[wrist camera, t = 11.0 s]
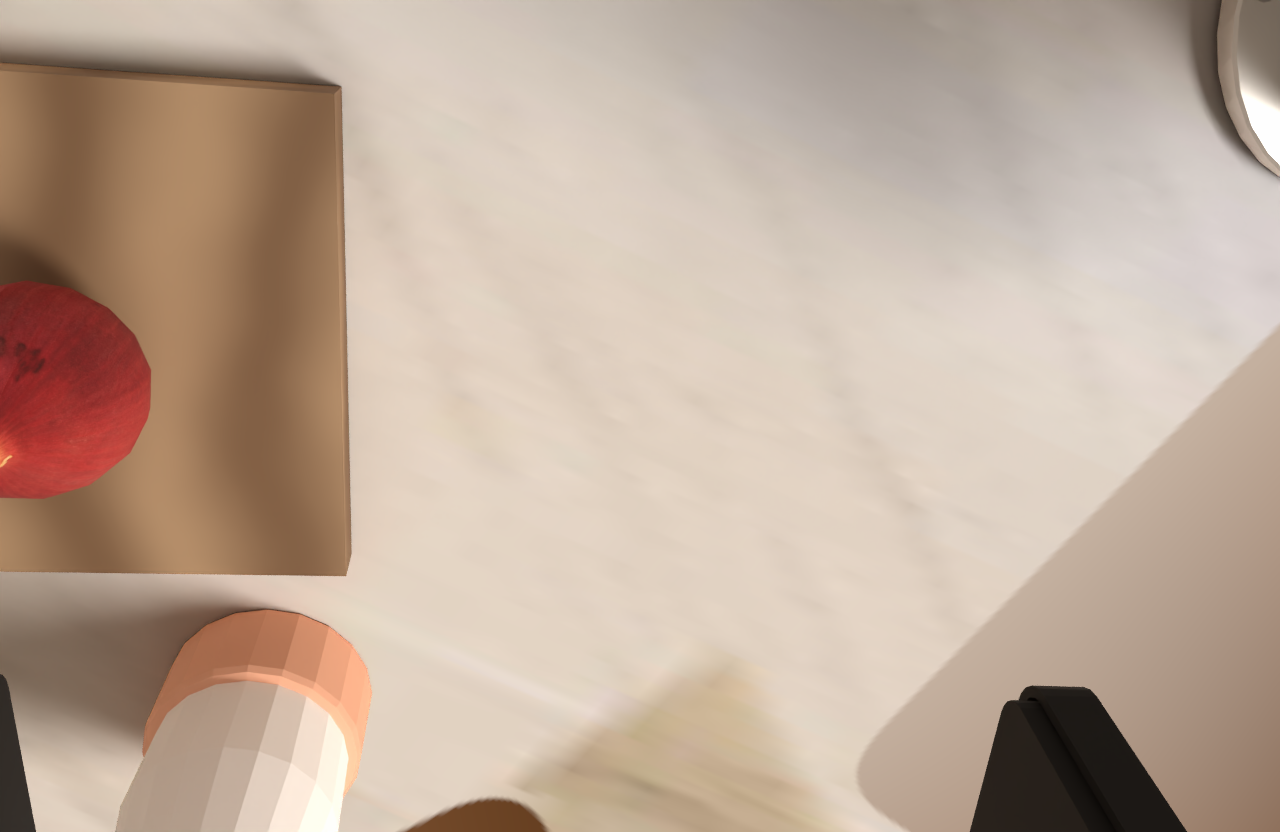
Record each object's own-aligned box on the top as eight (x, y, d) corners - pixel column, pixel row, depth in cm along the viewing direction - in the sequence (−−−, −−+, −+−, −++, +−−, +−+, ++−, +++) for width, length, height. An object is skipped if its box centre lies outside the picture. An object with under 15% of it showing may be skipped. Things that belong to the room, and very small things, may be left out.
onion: (-66, 329, 33) (-225, 444, 26) (72, 210, 32) (-53, 295, 25) (89, 463, 36) (-19, 604, 28) (222, 356, 35) (146, 472, 27)
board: (341, 86, 33) (334, 93, 32) (351, 553, 40) (345, 576, 38) (-347, 38, 31) (-386, 44, 29) (-218, 544, 37) (-246, 568, 36)
